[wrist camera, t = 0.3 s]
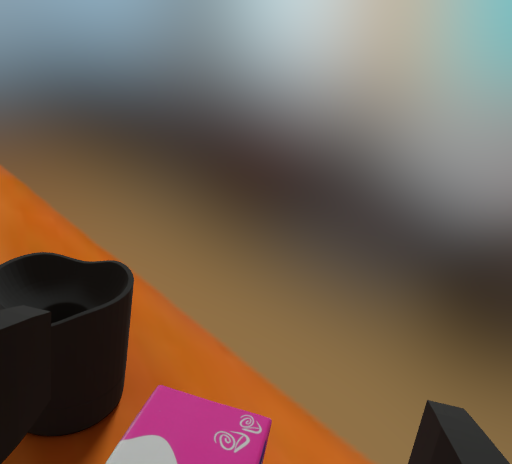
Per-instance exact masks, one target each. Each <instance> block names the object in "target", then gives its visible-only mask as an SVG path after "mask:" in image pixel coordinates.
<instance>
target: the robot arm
mask: <svg viewBox="0 0 512 464" xmlns="http://www.w3.org/2000/svg"><path fill="white" fill-rule="evenodd" d="M50 400H51V312H50V311H46V310H42V309H37V308H33V307H29V306H25V305H22V306H16V307H11V308H7V309H3V310H0V464H1V463H2V462H3V461H4V460H5V459H6V458H7V457H8V456H9V454H10V453H11V452H12V451H13V450H14V449H15V448H16V447H17V445H18V444H19V443H20V442H21V440H22V439H23V438H24V436H25V435H26V434H27V432H28V431H29V430H30V428H31V427H32V425H33V424H34V423H35V421H36V420H37V418H38V417H39V415H40V414H41V413H42V411H43V410H44V408H45V407H46V405H47V404H48V402H49V401H50ZM408 464H510V463H509V462H508V461H507V460H506V458H505V457H504V456H503V455H502V454H501V452H500V451H499V450H498V449H497V448H496V447H495V445H494V444H493V443H492V441H491V440H490V439H489V438H488V436H487V435H486V434H485V433H484V432H483V430H482V429H481V428H480V427H479V426H478V425H477V423H476V422H475V421H474V420H473V419H472V417H471V416H470V415H469V414H468V413H467V412H466V411H465V410H464V409H463V408H459V407H455V406H450V405H446V404H441V403H437V402H433V401H429V400H427V403H426V406H425V410H424V413H423V416H422V419H421V423H420V426H419V430H418V433H417V436H416V439H415V443H414V446H413V449H412V453H411V456H410V459H409V463H408Z"/></svg>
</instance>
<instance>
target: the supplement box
mask: <svg viewBox="0 0 512 464" xmlns="http://www.w3.org/2000/svg"><path fill="white" fill-rule="evenodd" d="M270 427H271V419H270V418H267V417H264V416H261V415H258V414H255V413H251V412H248V411H244V410H240V409H237V408H233V407H230V406H226V405H223V404H219V403H216V402H213V401H210V400H206V399H203V398H200V397H197V396H194V395H191V394H187V393H184V392H181V391H178V390H175V389H172V388H169V387H166V386H163V385H159V386H158V387H157V388H156V389H155V391H154V392H153V393H152V395H151V396H150V398H149V399H148V400H147V402H146V403H145V405H144V406H143V408H142V409H141V411H140V412H139V414H138V415H137V416H136V418H135V419H134V421H133V422H132V424H131V425H130V427H129V428H128V430H127V431H126V433H125V434H124V436H123V437H122V439H121V440H120V442H119V443H118V445H117V446H116V448H115V449H114V451H113V453H112V454H111V455H110V457H109V459H108V460H107V462H106V463H105V464H262V463H263V459H264V454H265V450H266V445H267V441H268V436H269V432H270Z"/></svg>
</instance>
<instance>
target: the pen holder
mask: <svg viewBox="0 0 512 464" xmlns="http://www.w3.org/2000/svg"><path fill="white" fill-rule="evenodd" d="M133 283H134V278H133V274H132V272H131V270H130V269H129V268H128V267H127V266H126V265H124V264H123V263H121V262H118V261H96V262H87V261H81V260H77V259H73V258H70V257H67V256H63V255H60V254H55V253H46V252H42V253H32V254H27V255H24V256H20V257H17V258H14V259H12V260H9V261H7V262H5V263H3V264H1V265H0V310H3V309H7V308H11V307H16V306H22V305H25V306H29V307H33V308H37V309H42V310H46V311H50V312H51V400H50V401H49V402H48V404H47V405H46V407H45V408H44V410H43V411H42V413H41V414H40V415H39V417H38V418H37V420H36V421H35V423H34V424H33V425H32V427H31V428H30V430H29V431H28V433H32V434H36V435H43V436H59V435H66V434H71V433H75V432H78V431H81V430H84V429H86V428H89V427H91V426H93V425H94V424H96V423H98V422H99V421H101V420H102V419H103V418H105V417H106V416H107V415H108V414H109V413H110V412H111V411H112V410H113V409H114V408H115V407H116V405H117V404H118V402H119V400H120V398H121V396H122V392H123V387H124V378H125V369H126V360H127V349H128V338H129V327H130V316H131V305H132V294H133Z"/></svg>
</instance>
